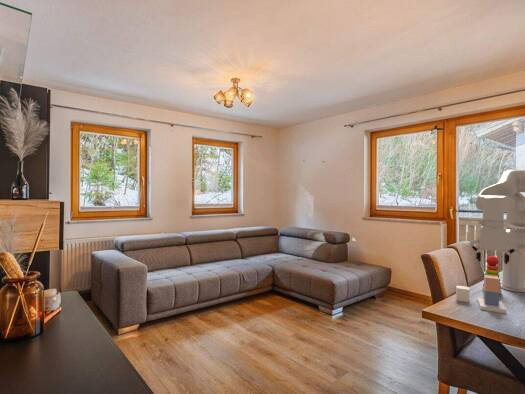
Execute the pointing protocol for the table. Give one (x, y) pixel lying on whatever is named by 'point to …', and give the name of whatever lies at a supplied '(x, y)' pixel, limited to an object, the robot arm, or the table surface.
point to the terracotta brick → (491, 283)
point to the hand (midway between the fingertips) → (492, 262)
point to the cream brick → (462, 293)
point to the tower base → (490, 307)
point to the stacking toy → (492, 268)
